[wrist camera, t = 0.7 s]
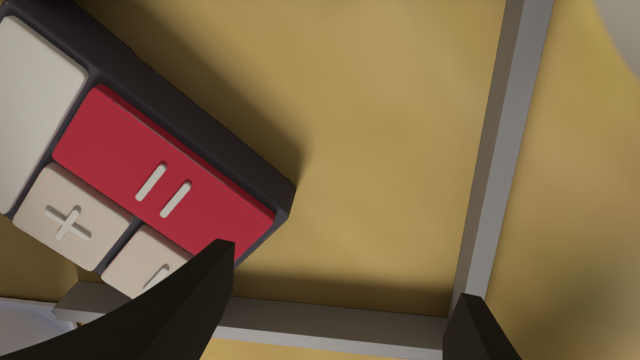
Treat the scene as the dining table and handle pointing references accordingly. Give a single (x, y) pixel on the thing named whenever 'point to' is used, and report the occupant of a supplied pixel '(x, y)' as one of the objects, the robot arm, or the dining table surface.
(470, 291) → the grey piece
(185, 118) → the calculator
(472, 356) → the robot arm
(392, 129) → the dining table surface
